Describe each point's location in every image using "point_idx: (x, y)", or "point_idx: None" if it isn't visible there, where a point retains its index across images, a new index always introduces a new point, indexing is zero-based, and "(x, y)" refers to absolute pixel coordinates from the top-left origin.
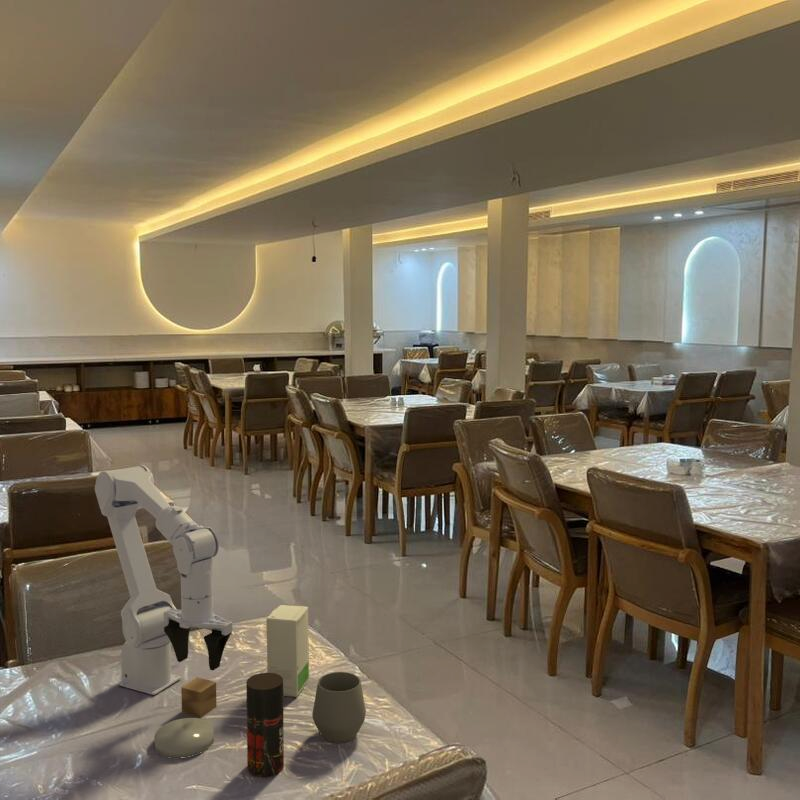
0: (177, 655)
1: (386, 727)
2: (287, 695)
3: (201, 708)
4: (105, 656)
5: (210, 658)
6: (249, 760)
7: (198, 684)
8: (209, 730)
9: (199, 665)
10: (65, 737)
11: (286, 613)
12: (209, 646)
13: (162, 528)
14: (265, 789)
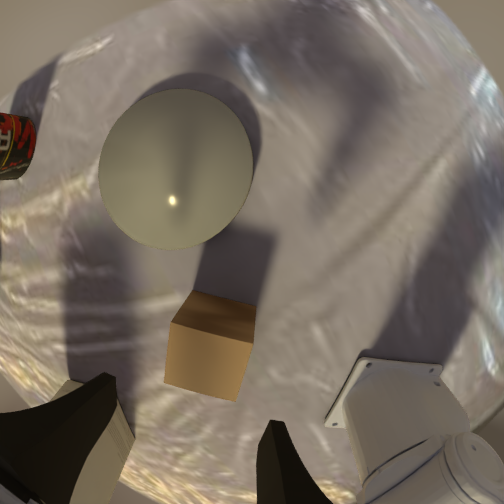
0: (280, 439)
1: None
2: (81, 383)
3: (185, 301)
4: None
5: (76, 397)
6: (14, 116)
7: (206, 367)
8: (111, 198)
9: (305, 459)
10: (462, 144)
11: None
12: (33, 427)
13: None
14: (12, 98)
